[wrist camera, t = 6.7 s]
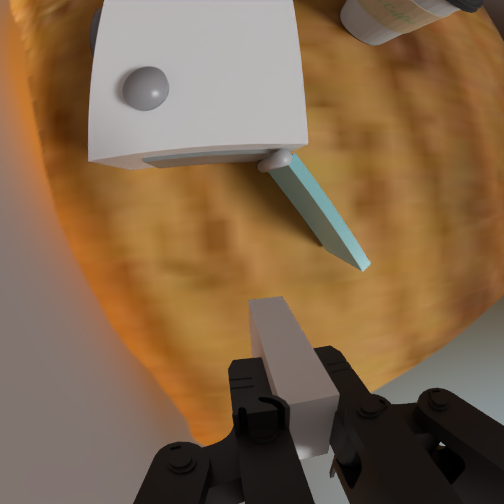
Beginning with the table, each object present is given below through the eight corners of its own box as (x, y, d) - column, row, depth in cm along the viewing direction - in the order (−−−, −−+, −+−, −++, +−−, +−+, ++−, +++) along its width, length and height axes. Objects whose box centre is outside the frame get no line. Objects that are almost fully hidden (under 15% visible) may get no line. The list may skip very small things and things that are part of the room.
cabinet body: (124, 18, 18) (95, -40, 9) (263, 7, 20) (286, -56, 10) (116, 175, 22) (61, 169, 12) (274, 162, 23) (313, 146, 14)
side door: (254, 165, 23) (271, 155, 16) (274, 150, 23) (298, 135, 16) (321, 253, 25) (358, 277, 18) (338, 239, 25) (380, 257, 18)
